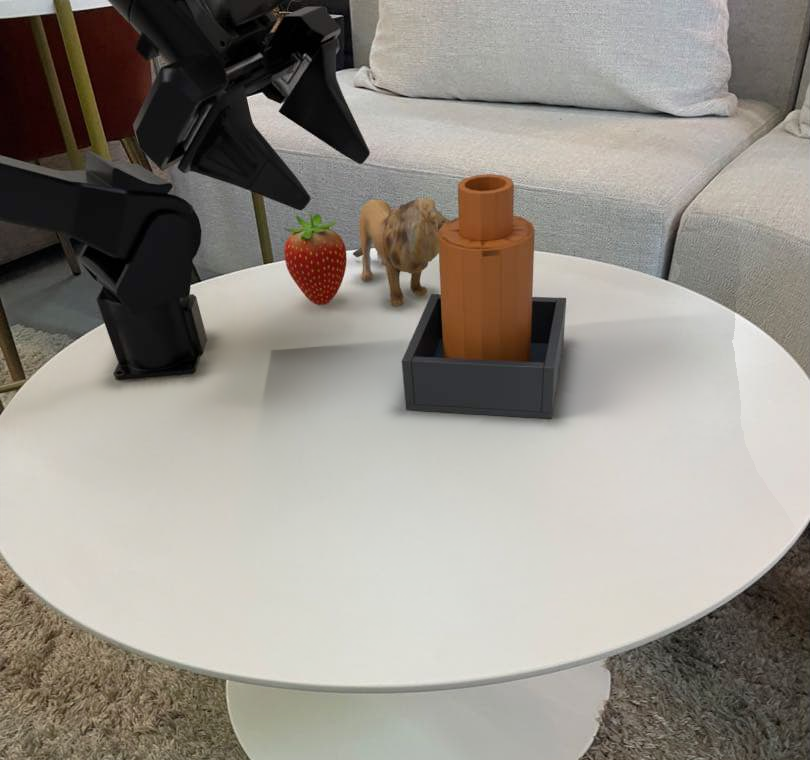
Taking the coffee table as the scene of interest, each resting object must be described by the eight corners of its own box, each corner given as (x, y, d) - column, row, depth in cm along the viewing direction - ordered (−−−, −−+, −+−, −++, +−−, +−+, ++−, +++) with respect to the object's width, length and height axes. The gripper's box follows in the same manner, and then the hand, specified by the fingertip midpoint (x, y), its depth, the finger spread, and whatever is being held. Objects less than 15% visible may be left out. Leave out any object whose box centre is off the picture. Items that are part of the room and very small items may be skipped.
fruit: (284, 313, 71) (267, 221, 66) (307, 287, 75) (293, 199, 69) (340, 318, 70) (327, 225, 64) (361, 291, 73) (351, 201, 68)
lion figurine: (465, 303, 70) (463, 197, 64) (414, 322, 68) (407, 215, 62) (376, 253, 79) (367, 156, 73) (329, 268, 77) (316, 170, 71)
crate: (405, 410, 58) (401, 360, 55) (433, 339, 66) (431, 293, 63) (551, 419, 56) (554, 368, 53) (563, 345, 63) (566, 297, 61)
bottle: (447, 396, 58) (439, 205, 49) (441, 352, 63) (433, 171, 54) (535, 389, 58) (542, 196, 49) (522, 346, 63) (527, 163, 54)
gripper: (113, -116, 39) (342, 136, 43) (294, -143, 52) (460, 54, 56) (47, 64, 47) (246, 264, 51) (218, 3, 60) (368, 167, 64)
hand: (337, 180), depth 55 cm, fingers open, 9 cm apart
